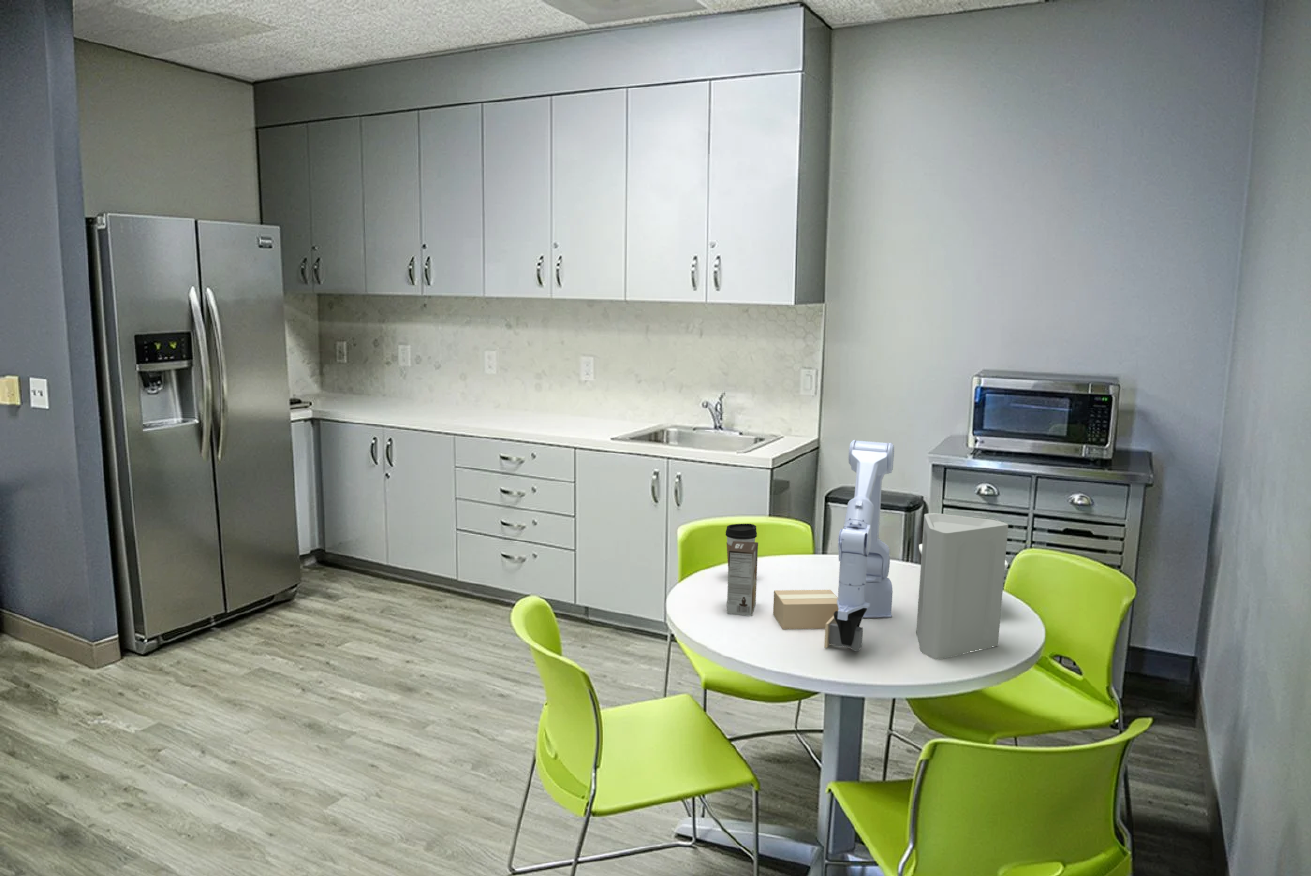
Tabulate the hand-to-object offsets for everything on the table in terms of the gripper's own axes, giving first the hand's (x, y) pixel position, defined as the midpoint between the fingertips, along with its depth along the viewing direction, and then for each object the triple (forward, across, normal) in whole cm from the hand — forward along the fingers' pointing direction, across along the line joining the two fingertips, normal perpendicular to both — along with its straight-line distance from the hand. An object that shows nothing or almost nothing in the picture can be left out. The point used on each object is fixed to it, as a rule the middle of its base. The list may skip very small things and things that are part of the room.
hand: (848, 641), depth 203 cm
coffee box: (+2, +13, +30) cm, 33 cm away
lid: (+2, +5, +1) cm, 5 cm away
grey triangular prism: (+2, +16, -18) cm, 24 cm away
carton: (+2, +13, +13) cm, 19 cm away
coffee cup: (+2, +35, +39) cm, 52 cm away
